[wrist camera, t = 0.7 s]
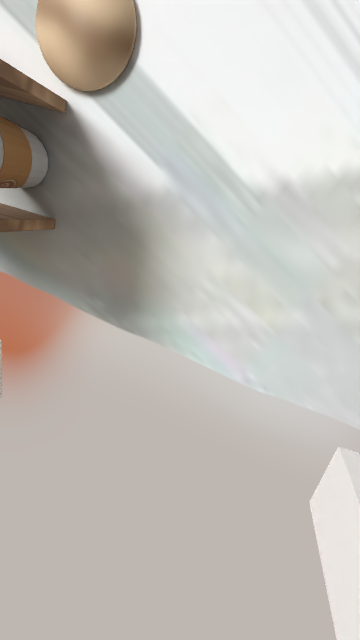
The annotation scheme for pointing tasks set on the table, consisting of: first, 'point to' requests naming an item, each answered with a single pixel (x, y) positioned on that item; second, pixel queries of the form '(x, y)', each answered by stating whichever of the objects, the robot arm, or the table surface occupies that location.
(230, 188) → the table surface
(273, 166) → the table surface
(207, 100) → the table surface
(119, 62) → the coaster
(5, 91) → the cradle
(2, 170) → the coffee cup
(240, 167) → the table surface
